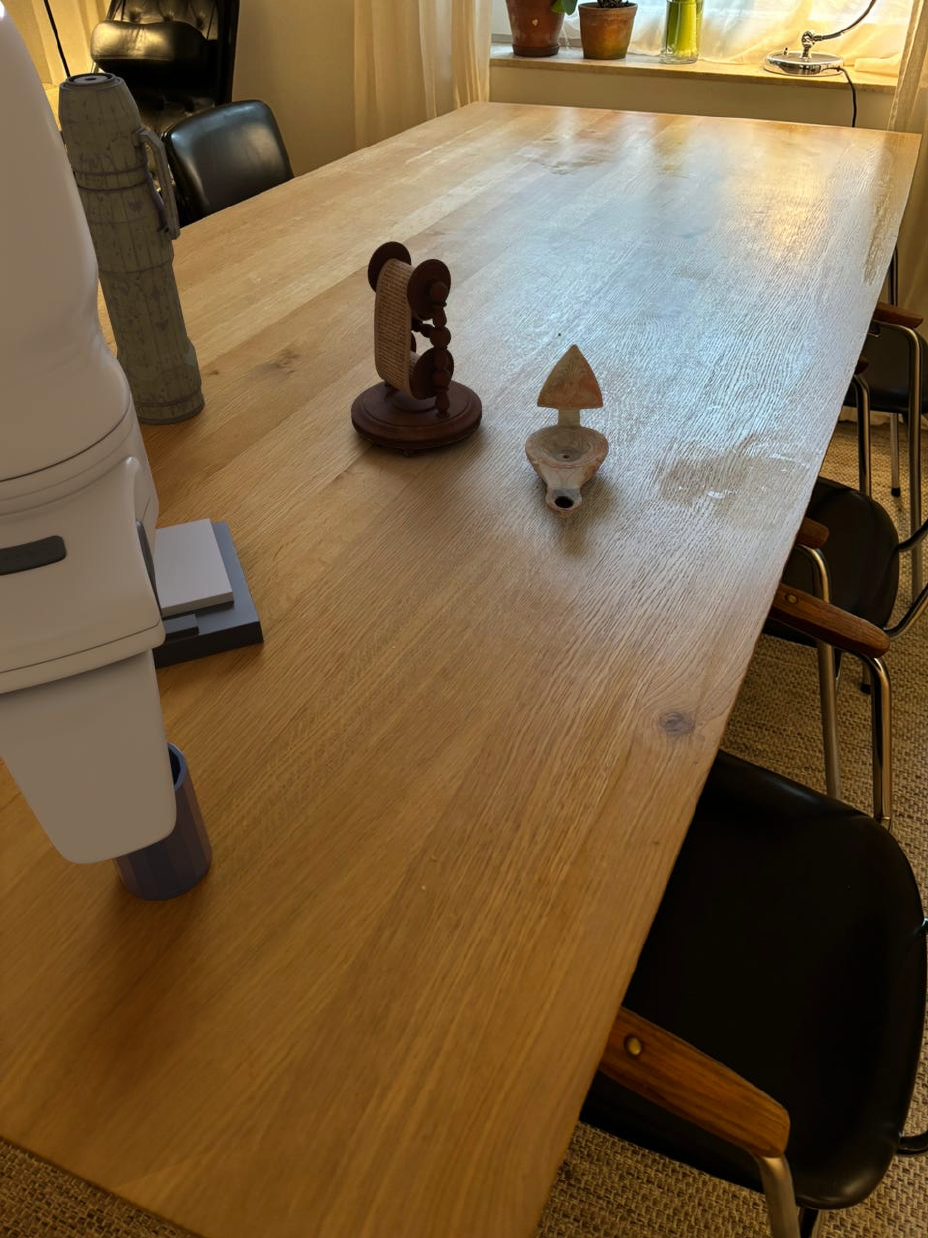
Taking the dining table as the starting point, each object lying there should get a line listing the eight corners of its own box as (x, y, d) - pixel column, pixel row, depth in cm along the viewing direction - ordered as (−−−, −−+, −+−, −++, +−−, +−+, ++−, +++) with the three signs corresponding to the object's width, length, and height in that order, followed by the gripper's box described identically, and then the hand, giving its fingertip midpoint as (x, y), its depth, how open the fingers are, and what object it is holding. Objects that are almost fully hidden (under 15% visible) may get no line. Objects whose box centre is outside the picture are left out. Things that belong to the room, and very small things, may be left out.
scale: (71, 690, 81) (59, 659, 79) (59, 578, 93) (49, 549, 90) (264, 642, 85) (258, 611, 83) (230, 540, 97) (224, 511, 95)
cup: (125, 912, 65) (89, 827, 59) (115, 840, 70) (81, 754, 64) (219, 883, 67) (193, 797, 61) (204, 815, 71) (178, 728, 65)
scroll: (327, 424, 114) (306, 249, 101) (427, 383, 121) (420, 215, 108) (405, 476, 105) (393, 291, 92) (509, 429, 112) (511, 252, 99)
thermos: (130, 388, 121) (46, 67, 99) (225, 389, 121) (163, 66, 98) (106, 424, 115) (10, 89, 92) (206, 425, 114) (135, 88, 91)
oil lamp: (607, 428, 112) (614, 344, 105) (605, 538, 96) (613, 448, 89) (530, 424, 113) (533, 342, 106) (515, 533, 97) (517, 444, 90)
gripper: (-84, 379, 41) (18, 630, 50) (-68, 706, 27) (71, 974, 36) (74, 349, 43) (145, 597, 52) (168, 640, 28) (243, 911, 38)
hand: (115, 754), depth 44 cm, fingers open, 8 cm apart
